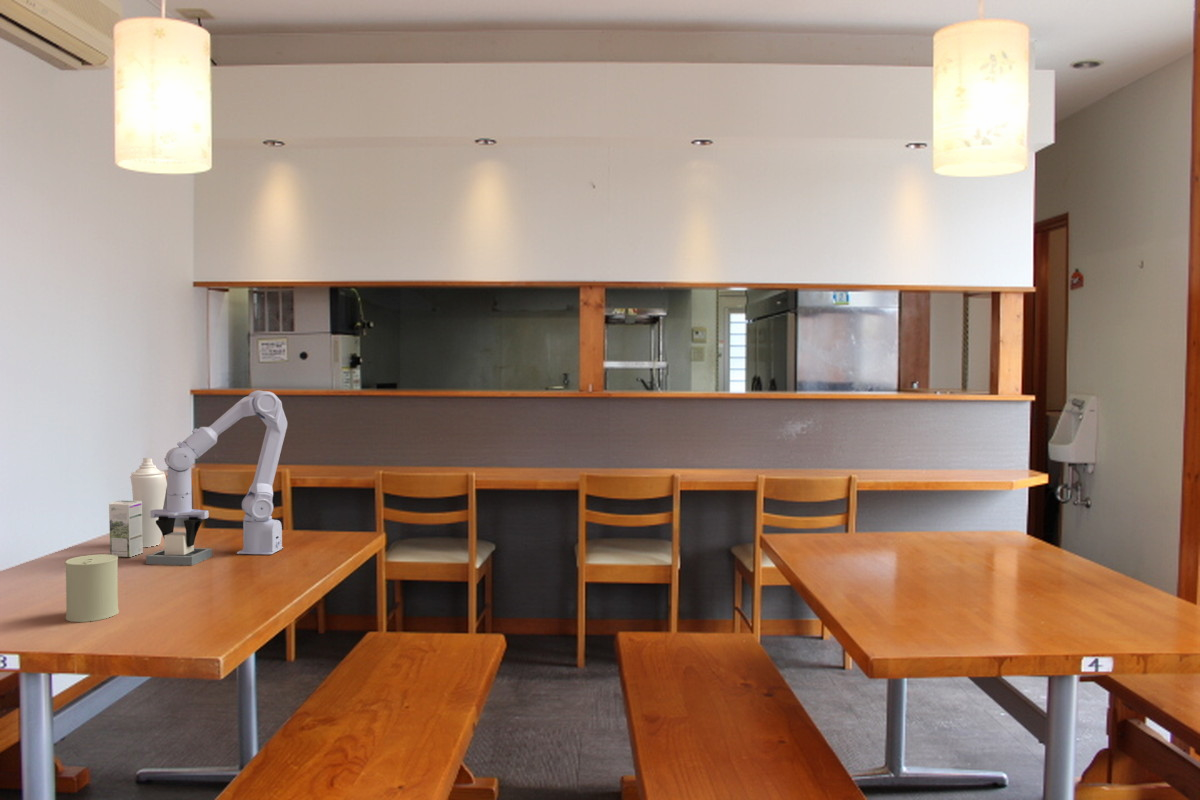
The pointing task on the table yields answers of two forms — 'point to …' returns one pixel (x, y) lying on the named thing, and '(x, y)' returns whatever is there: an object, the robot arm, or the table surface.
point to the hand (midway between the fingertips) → (179, 545)
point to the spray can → (149, 498)
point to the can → (91, 587)
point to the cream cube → (176, 544)
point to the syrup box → (125, 528)
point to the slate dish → (179, 557)
